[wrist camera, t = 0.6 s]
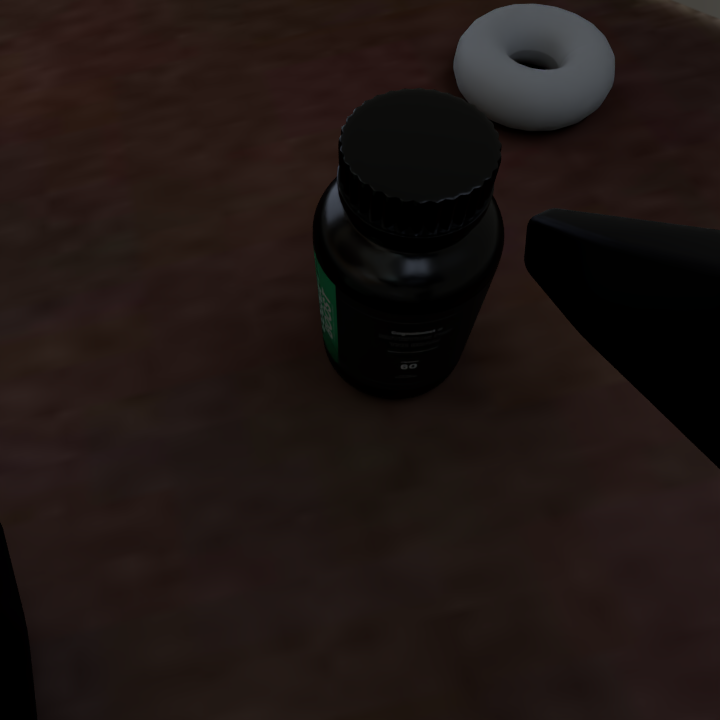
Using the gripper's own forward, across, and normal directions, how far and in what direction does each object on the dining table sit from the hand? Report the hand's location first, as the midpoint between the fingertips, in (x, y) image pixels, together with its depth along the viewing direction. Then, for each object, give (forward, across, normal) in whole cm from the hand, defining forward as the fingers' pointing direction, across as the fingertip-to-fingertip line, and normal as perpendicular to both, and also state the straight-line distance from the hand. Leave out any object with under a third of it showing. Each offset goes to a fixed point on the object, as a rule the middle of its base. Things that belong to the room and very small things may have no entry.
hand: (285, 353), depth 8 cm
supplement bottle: (+11, -7, +13) cm, 19 cm away
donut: (+23, -24, +9) cm, 34 cm away
